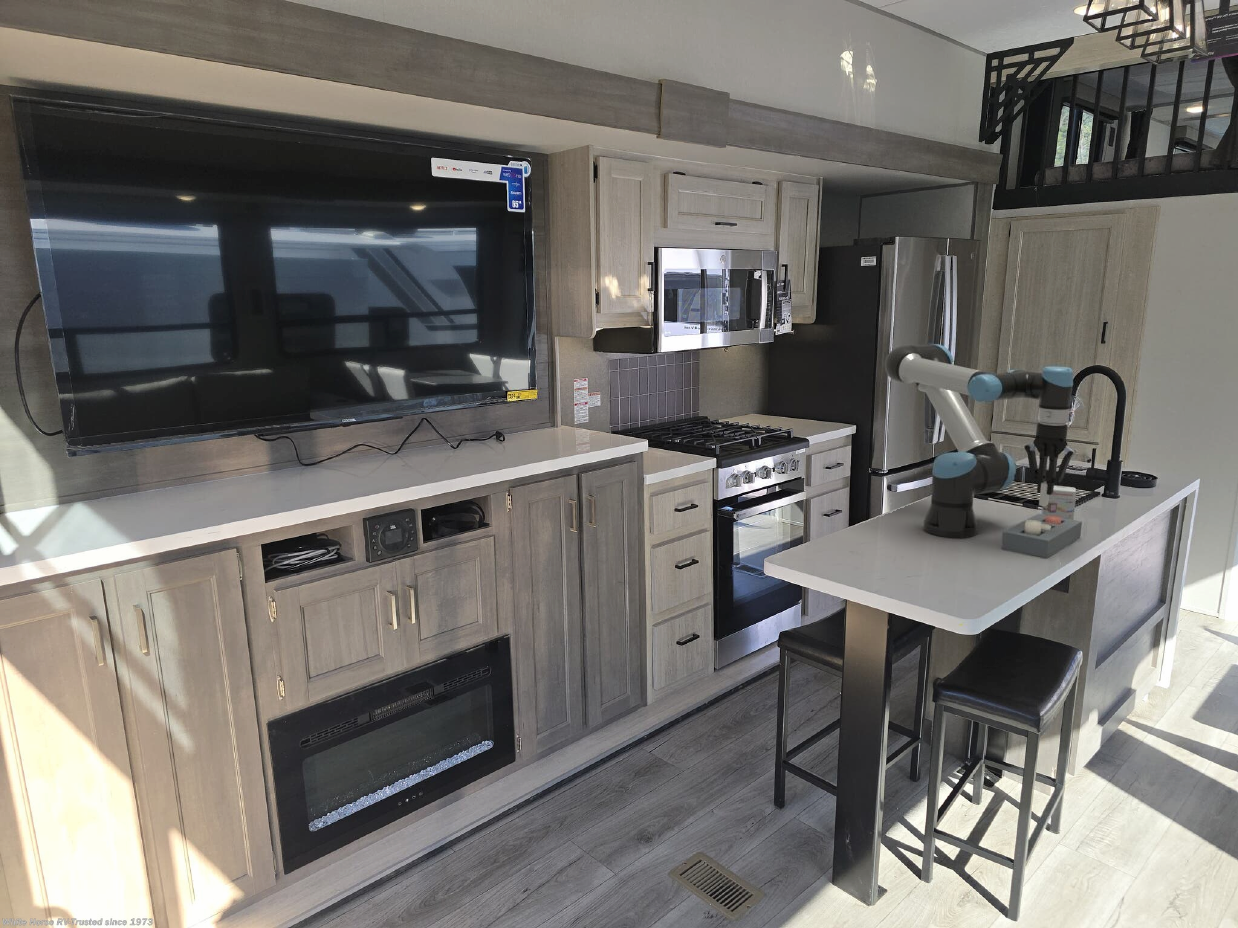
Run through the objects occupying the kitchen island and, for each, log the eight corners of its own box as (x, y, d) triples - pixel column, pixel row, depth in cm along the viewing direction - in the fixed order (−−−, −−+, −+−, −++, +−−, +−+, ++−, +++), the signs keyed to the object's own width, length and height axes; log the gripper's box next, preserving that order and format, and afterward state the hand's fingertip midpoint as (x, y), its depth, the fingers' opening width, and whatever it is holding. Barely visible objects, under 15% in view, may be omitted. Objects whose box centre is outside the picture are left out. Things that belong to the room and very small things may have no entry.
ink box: (1040, 525, 241) (1044, 488, 239) (1040, 521, 246) (1044, 484, 243) (1072, 528, 237) (1076, 490, 235) (1072, 524, 242) (1076, 487, 239)
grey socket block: (1046, 558, 212) (1048, 540, 211) (1001, 548, 221) (1002, 531, 220) (1080, 537, 228) (1081, 521, 227) (1036, 529, 237) (1038, 513, 236)
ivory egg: (1036, 541, 216) (1038, 524, 215) (1021, 538, 219) (1022, 521, 218) (1042, 538, 219) (1043, 521, 218) (1027, 535, 222) (1028, 518, 221)
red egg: (1056, 536, 226) (1058, 520, 225) (1041, 533, 229) (1043, 517, 228) (1061, 533, 229) (1063, 517, 228) (1047, 530, 232) (1048, 514, 231)
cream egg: (1046, 544, 222) (1047, 528, 221) (1031, 541, 225) (1032, 525, 224) (1051, 541, 224) (1053, 525, 223) (1037, 538, 227) (1038, 522, 226)
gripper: (1022, 422, 220) (1014, 503, 225) (1073, 427, 210) (1063, 512, 215) (1033, 418, 224) (1024, 497, 230) (1083, 424, 215) (1073, 506, 220)
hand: (1043, 504), depth 223 cm, fingers closed
